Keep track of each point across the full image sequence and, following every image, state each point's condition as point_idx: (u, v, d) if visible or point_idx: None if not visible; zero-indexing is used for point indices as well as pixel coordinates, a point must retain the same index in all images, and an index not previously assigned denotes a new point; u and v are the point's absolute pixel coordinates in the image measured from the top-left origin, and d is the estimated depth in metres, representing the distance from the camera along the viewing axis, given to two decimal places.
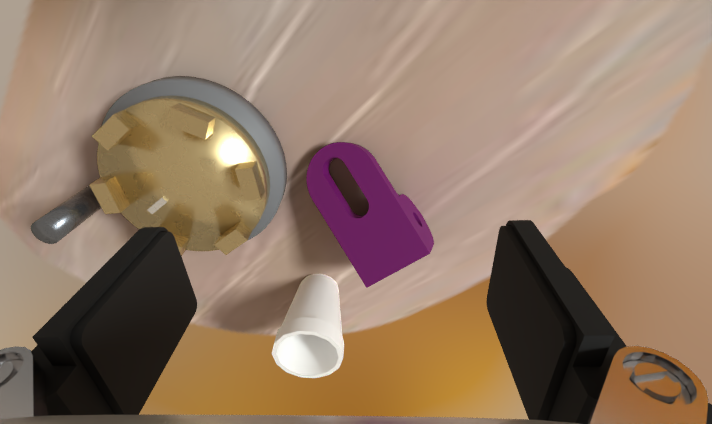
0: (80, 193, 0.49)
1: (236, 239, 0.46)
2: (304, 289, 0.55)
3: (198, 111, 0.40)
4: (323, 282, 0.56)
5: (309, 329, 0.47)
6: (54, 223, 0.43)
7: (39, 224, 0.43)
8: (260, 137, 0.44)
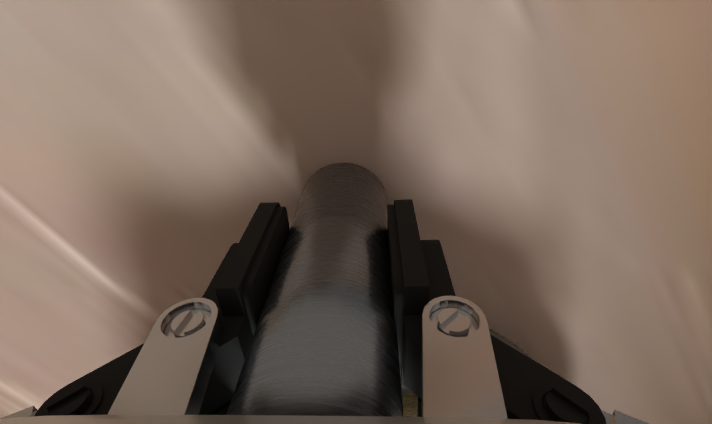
0: None
1: None
2: None
3: None
4: None
5: None
6: None
7: None
8: None
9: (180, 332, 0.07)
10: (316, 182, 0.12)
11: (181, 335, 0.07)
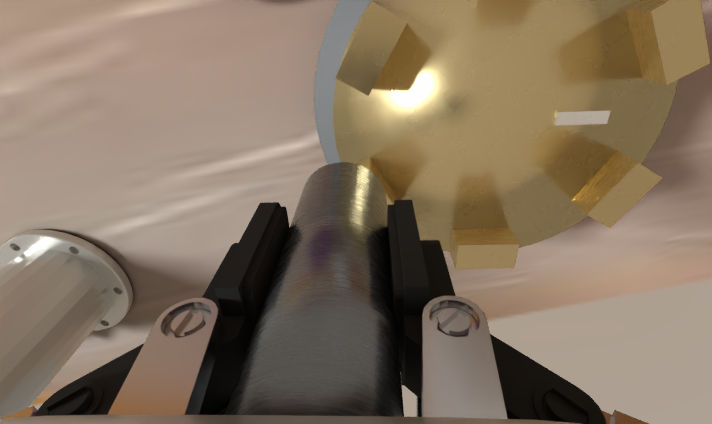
0: None
1: None
2: None
3: None
4: None
5: None
6: None
7: None
8: (326, 88, 0.24)
9: (180, 332, 0.07)
10: (316, 181, 0.12)
11: (181, 335, 0.07)
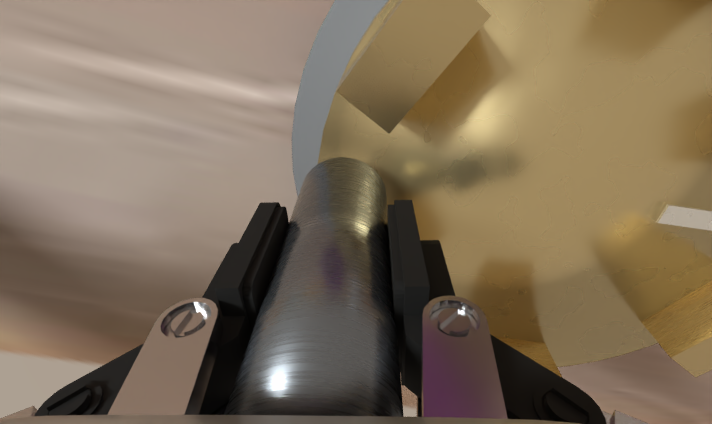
0: None
1: None
2: None
3: None
4: None
5: None
6: None
7: None
8: (345, 25, 0.14)
9: (180, 332, 0.07)
10: (312, 178, 0.12)
11: (181, 335, 0.07)
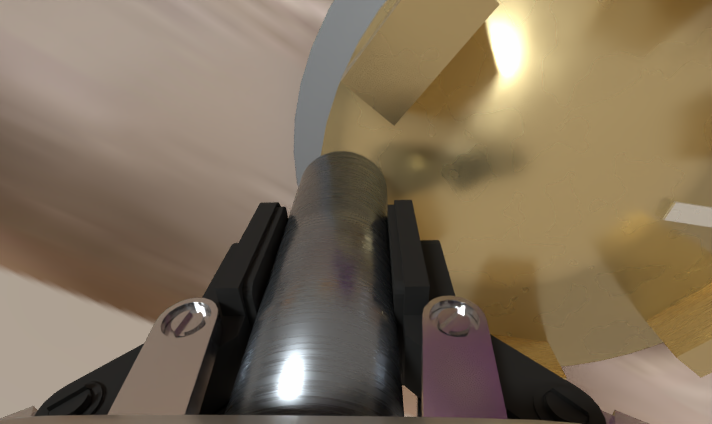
0: None
1: None
2: None
3: None
4: None
5: None
6: None
7: None
8: None
9: (180, 332, 0.07)
10: (309, 174, 0.12)
11: (181, 335, 0.07)
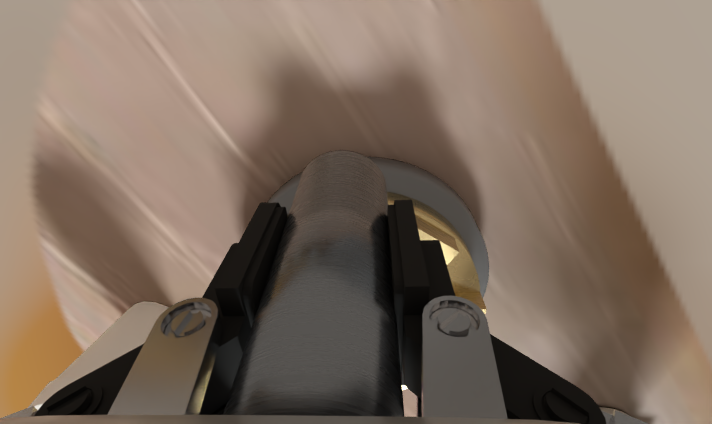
0: None
1: None
2: None
3: None
4: None
5: None
6: None
7: None
8: None
9: (180, 332, 0.07)
10: (309, 174, 0.12)
11: (181, 335, 0.07)
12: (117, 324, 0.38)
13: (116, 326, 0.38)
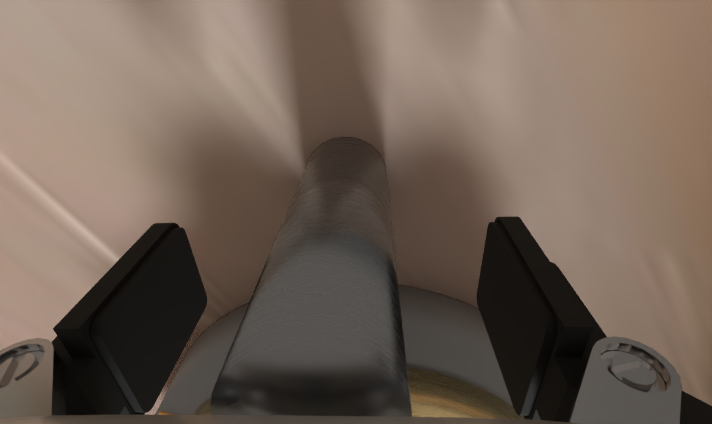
0: None
1: None
2: None
3: None
4: None
5: None
6: None
7: None
8: None
9: (9, 381, 0.06)
10: (315, 155, 0.13)
11: (11, 383, 0.06)
12: None
13: None
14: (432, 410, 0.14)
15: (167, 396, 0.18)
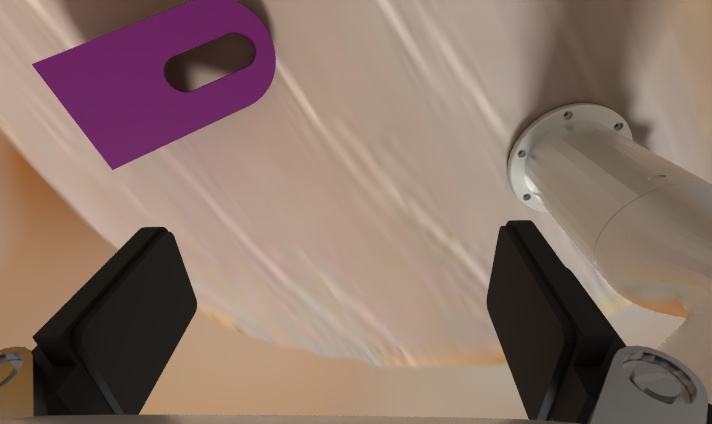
0: None
1: None
2: None
3: None
4: None
5: None
6: None
7: None
8: None
9: None
10: None
11: None
12: None
13: None
14: None
15: None
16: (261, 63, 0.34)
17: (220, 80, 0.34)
